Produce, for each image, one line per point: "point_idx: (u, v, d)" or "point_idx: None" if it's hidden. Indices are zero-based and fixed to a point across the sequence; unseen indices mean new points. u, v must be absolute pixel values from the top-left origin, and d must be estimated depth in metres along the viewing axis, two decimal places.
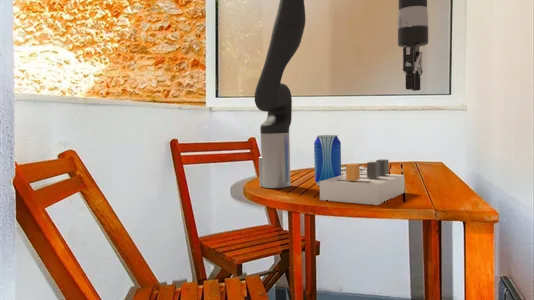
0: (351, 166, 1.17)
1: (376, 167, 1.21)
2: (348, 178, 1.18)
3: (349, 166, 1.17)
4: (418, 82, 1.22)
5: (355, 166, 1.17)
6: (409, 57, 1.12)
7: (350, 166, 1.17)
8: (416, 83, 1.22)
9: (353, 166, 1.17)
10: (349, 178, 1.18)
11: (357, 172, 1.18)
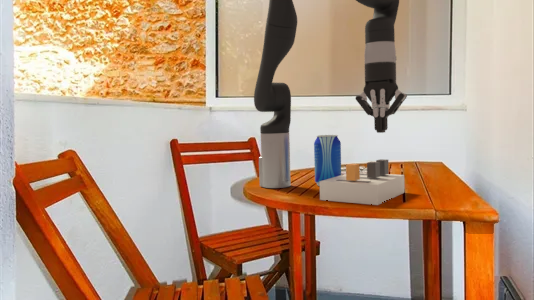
0: (351, 166, 1.17)
1: (376, 167, 1.21)
2: (348, 178, 1.18)
3: (349, 166, 1.17)
4: None
5: (355, 166, 1.17)
6: (399, 104, 1.10)
7: (350, 166, 1.17)
8: None
9: (353, 166, 1.17)
10: (349, 178, 1.18)
11: (357, 172, 1.18)
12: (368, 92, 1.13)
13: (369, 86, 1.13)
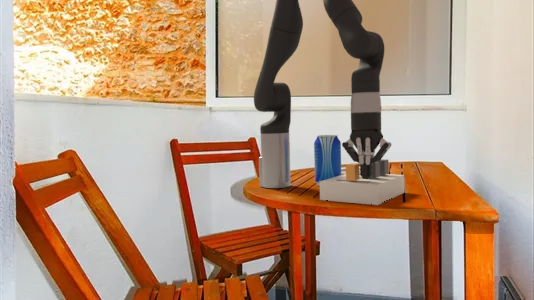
0: (351, 166, 1.17)
1: (376, 167, 1.21)
2: (348, 178, 1.18)
3: (349, 166, 1.17)
4: None
5: (355, 166, 1.17)
6: (384, 152, 1.14)
7: (350, 166, 1.17)
8: None
9: (353, 166, 1.17)
10: (349, 178, 1.18)
11: (356, 172, 1.18)
12: (354, 139, 1.16)
13: (355, 134, 1.16)
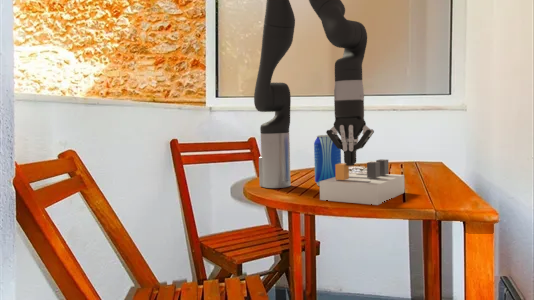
0: (340, 166, 1.19)
1: (376, 167, 1.21)
2: (337, 178, 1.19)
3: (338, 166, 1.19)
4: None
5: (344, 166, 1.19)
6: (367, 139, 1.16)
7: (339, 166, 1.19)
8: None
9: (342, 166, 1.18)
10: (338, 177, 1.19)
11: (346, 171, 1.19)
12: (338, 127, 1.19)
13: (339, 121, 1.19)
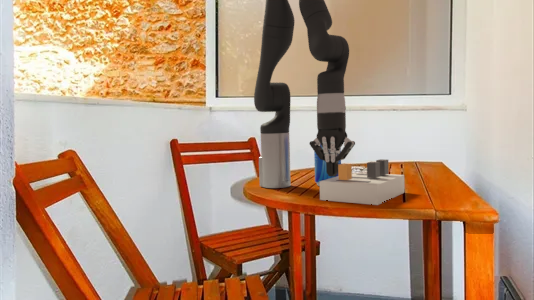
0: (343, 166, 1.18)
1: (376, 167, 1.21)
2: (340, 178, 1.19)
3: (341, 166, 1.19)
4: None
5: (347, 166, 1.18)
6: (348, 151, 1.19)
7: (342, 166, 1.18)
8: None
9: (345, 166, 1.18)
10: (341, 178, 1.19)
11: (349, 171, 1.19)
12: (320, 138, 1.22)
13: (321, 133, 1.22)
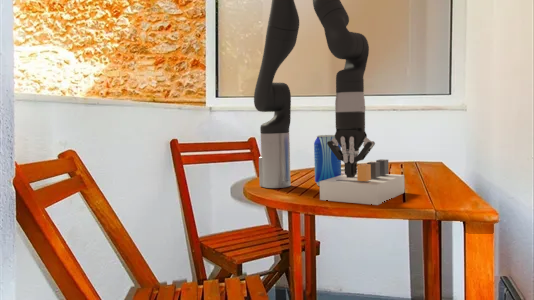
0: (362, 166, 1.15)
1: (376, 167, 1.21)
2: (359, 179, 1.16)
3: (360, 166, 1.16)
4: None
5: (366, 166, 1.15)
6: (368, 151, 1.16)
7: (361, 166, 1.15)
8: None
9: (364, 166, 1.15)
10: (360, 179, 1.16)
11: (368, 172, 1.16)
12: (339, 138, 1.19)
13: (340, 133, 1.18)
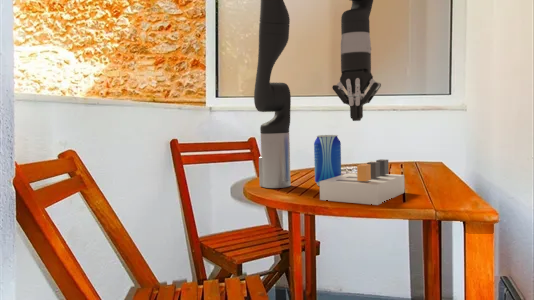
0: (362, 166, 1.15)
1: (376, 167, 1.21)
2: (359, 179, 1.16)
3: (360, 166, 1.16)
4: None
5: (366, 166, 1.15)
6: (374, 93, 1.14)
7: (361, 166, 1.15)
8: None
9: (364, 166, 1.15)
10: (360, 179, 1.16)
11: (368, 172, 1.16)
12: (344, 81, 1.17)
13: (345, 76, 1.16)
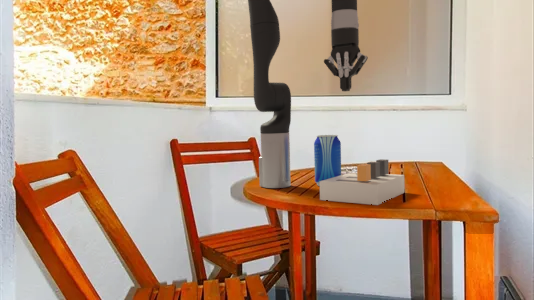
0: (362, 166, 1.15)
1: (376, 167, 1.21)
2: (359, 179, 1.16)
3: (360, 166, 1.16)
4: None
5: (366, 166, 1.15)
6: (361, 65, 1.25)
7: (361, 166, 1.15)
8: None
9: (364, 166, 1.15)
10: (360, 179, 1.16)
11: (368, 172, 1.16)
12: (334, 55, 1.28)
13: (335, 50, 1.28)
